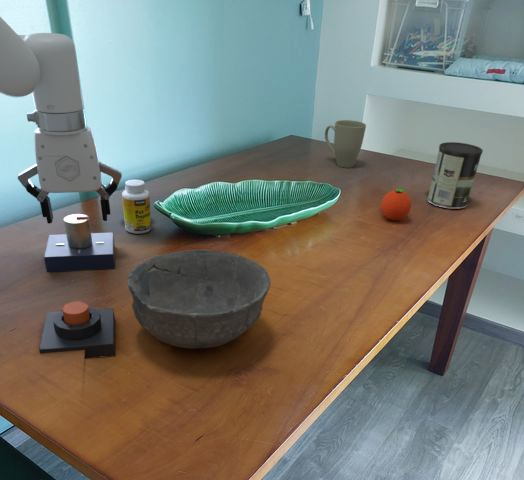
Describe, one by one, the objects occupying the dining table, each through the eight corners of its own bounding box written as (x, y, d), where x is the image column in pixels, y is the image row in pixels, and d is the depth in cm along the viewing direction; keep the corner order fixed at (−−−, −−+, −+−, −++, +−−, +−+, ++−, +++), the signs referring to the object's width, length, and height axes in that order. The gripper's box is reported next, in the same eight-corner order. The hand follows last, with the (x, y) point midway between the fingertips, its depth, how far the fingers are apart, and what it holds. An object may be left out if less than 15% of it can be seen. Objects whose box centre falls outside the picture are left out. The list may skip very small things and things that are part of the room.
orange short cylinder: (63, 327, 77) (61, 314, 75) (65, 314, 79) (63, 302, 78) (89, 325, 77) (87, 313, 76) (90, 312, 80) (88, 300, 79)
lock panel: (46, 272, 97) (43, 256, 95) (51, 248, 105) (49, 233, 103) (114, 268, 100) (113, 253, 98) (114, 246, 108) (113, 231, 106)
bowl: (265, 302, 92) (268, 249, 87) (268, 376, 76) (273, 316, 70) (144, 298, 91) (139, 244, 86) (120, 372, 75) (113, 311, 69)
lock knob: (67, 249, 98) (62, 221, 95) (68, 239, 102) (64, 212, 99) (92, 248, 99) (88, 221, 96) (92, 238, 103) (89, 212, 100)
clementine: (383, 210, 132) (389, 182, 128) (411, 216, 130) (418, 187, 126) (375, 221, 126) (380, 191, 122) (404, 227, 124) (410, 197, 120)
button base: (42, 362, 75) (36, 338, 73) (48, 324, 83) (44, 302, 81) (115, 356, 78) (112, 333, 75) (114, 319, 85) (112, 298, 83)
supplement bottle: (136, 237, 112) (132, 188, 106) (120, 229, 115) (114, 181, 109) (157, 230, 115) (154, 182, 109) (140, 222, 118) (137, 176, 112)
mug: (355, 160, 167) (362, 120, 160) (362, 170, 159) (369, 128, 152) (321, 159, 166) (326, 118, 159) (326, 169, 158) (331, 126, 151)
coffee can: (464, 198, 143) (479, 144, 135) (469, 212, 135) (486, 154, 126) (425, 194, 144) (437, 140, 136) (428, 207, 136) (441, 150, 128)
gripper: (1, 126, 83) (25, 230, 93) (115, 125, 87) (126, 225, 97) (9, 115, 89) (30, 213, 99) (115, 115, 93) (126, 210, 103)
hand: (78, 219), depth 98 cm, fingers open, 9 cm apart
